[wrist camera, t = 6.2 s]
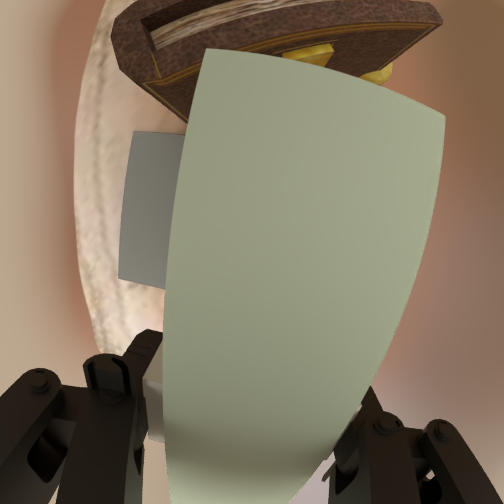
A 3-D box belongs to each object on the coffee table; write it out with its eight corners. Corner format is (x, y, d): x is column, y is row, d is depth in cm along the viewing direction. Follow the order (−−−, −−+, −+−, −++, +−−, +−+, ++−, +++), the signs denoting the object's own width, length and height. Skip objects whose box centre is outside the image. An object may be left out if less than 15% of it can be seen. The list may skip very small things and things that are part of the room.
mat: (135, 132, 34) (133, 131, 33) (202, 137, 34) (200, 136, 34) (120, 276, 40) (118, 278, 39) (180, 290, 40) (178, 292, 39)
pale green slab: (244, 150, 18) (206, 48, 3) (302, 161, 18) (445, 116, 3) (211, 353, 22) (174, 521, 7) (258, 361, 22) (260, 531, 7)
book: (212, 156, 35) (133, 114, 11) (190, 102, 33) (103, 8, 9) (359, 107, 33) (475, 40, 9) (336, 57, 31) (413, -46, 7)
